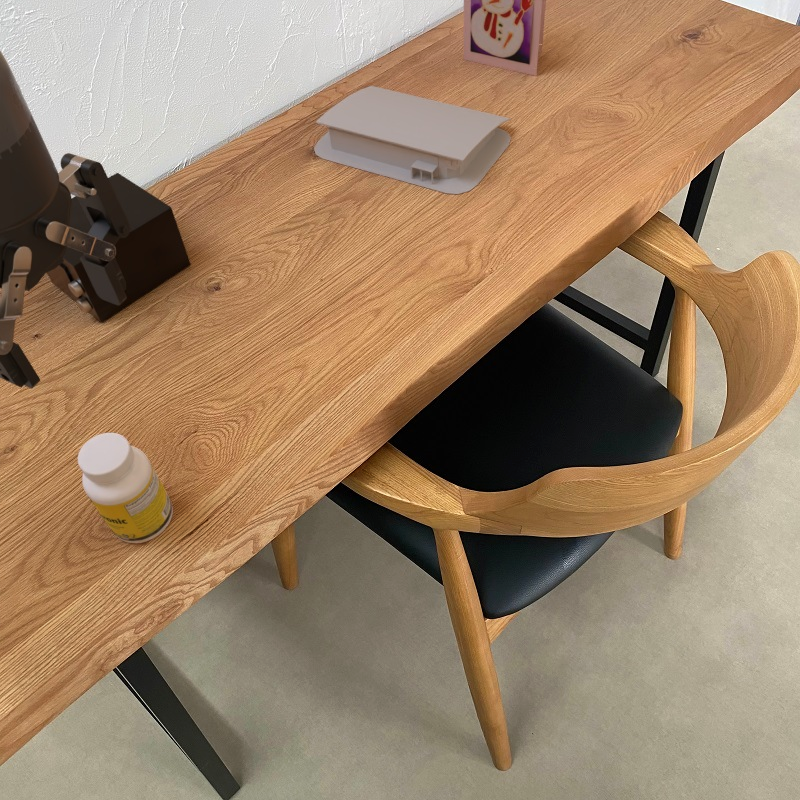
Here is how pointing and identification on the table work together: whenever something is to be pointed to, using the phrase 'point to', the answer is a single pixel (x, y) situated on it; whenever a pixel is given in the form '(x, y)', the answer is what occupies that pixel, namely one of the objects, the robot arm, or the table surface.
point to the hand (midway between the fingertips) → (71, 339)
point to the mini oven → (126, 251)
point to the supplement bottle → (124, 488)
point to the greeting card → (504, 33)
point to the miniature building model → (413, 139)
